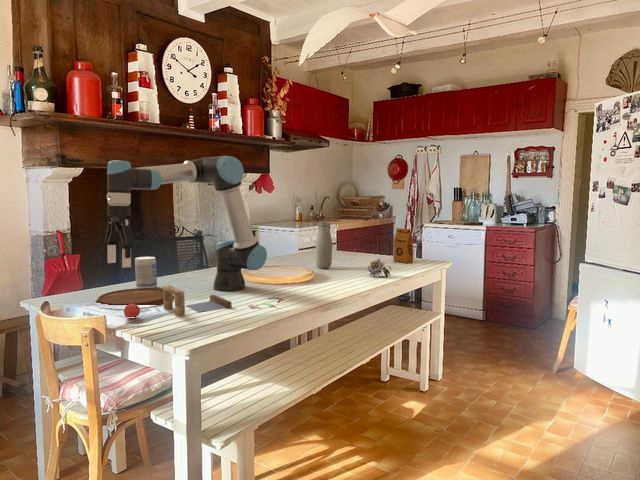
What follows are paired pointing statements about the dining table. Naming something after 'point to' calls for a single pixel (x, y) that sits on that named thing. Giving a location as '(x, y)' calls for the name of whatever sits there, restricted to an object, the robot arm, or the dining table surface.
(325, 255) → the grey bottle
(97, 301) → the cutting board
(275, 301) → the dining table surface
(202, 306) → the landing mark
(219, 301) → the kerb
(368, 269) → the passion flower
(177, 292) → the bridge
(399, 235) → the coffee package
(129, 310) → the ball
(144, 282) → the supplement tub
